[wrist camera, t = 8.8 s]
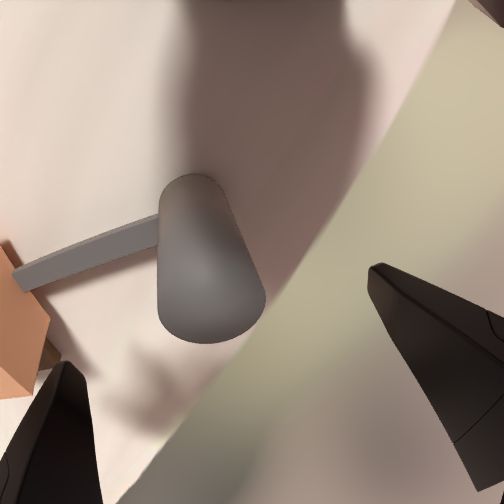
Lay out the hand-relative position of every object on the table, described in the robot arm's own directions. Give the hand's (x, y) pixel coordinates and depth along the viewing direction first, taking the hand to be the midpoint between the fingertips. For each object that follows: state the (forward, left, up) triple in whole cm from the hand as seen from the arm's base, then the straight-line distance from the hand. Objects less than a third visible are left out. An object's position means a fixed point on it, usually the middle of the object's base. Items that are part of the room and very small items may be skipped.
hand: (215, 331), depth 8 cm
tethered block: (+7, 0, -7) cm, 10 cm away
